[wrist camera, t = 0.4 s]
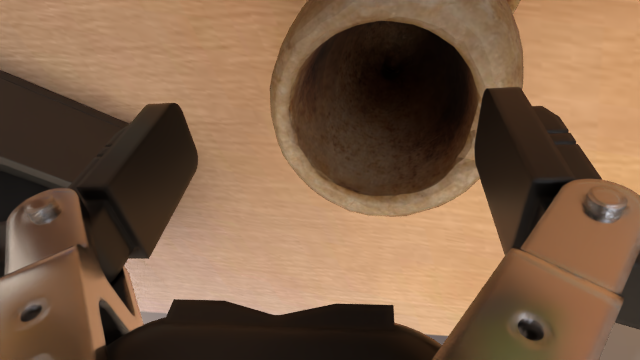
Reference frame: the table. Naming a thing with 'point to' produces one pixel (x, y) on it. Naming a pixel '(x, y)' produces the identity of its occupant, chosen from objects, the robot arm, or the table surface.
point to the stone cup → (390, 97)
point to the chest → (44, 140)
